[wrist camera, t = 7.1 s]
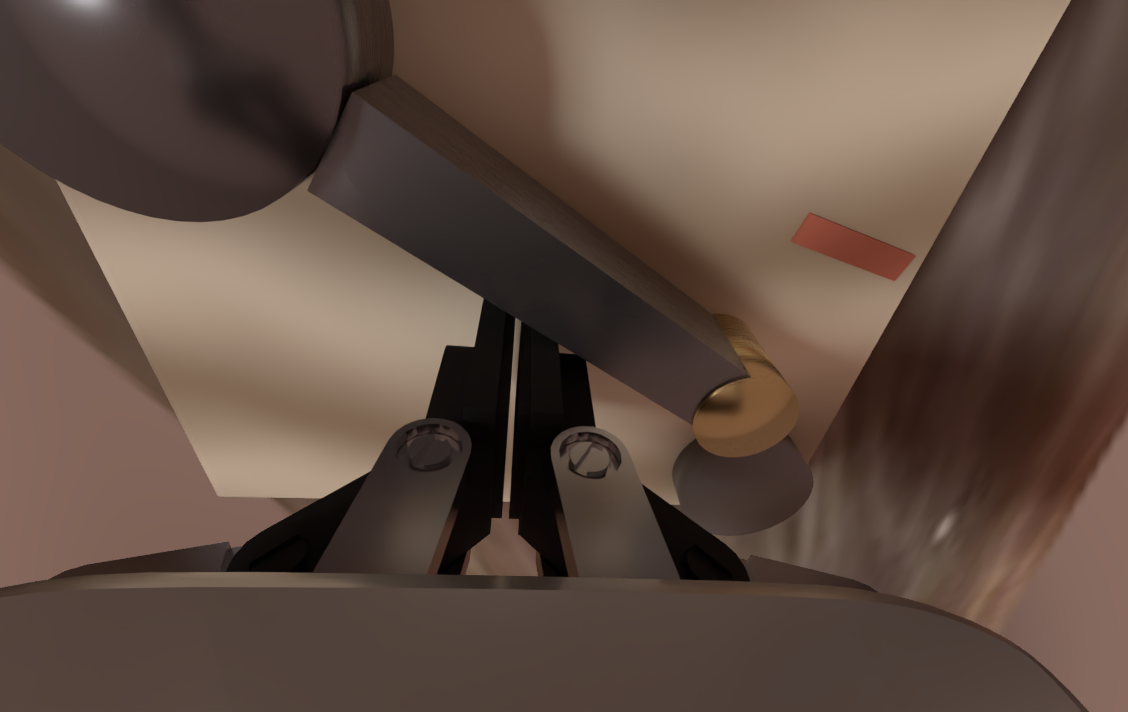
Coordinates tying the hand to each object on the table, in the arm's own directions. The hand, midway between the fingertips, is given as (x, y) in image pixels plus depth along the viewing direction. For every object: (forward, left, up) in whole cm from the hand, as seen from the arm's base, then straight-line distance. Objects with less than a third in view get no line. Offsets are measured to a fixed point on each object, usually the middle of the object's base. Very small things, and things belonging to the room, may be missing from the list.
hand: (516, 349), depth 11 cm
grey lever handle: (-3, -1, -1) cm, 4 cm away
